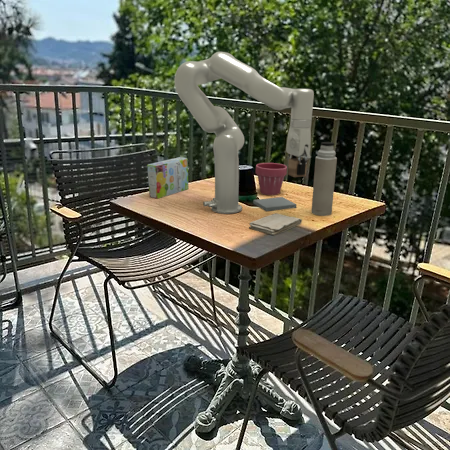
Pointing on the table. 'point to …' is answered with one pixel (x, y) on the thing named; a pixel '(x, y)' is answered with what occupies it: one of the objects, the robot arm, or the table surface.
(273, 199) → the slate board
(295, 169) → the walnut block
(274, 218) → the washcloth
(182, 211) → the table surface
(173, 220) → the table surface
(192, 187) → the table surface
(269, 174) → the plant pot
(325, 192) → the thermos bottle
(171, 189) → the snack box
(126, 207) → the table surface
